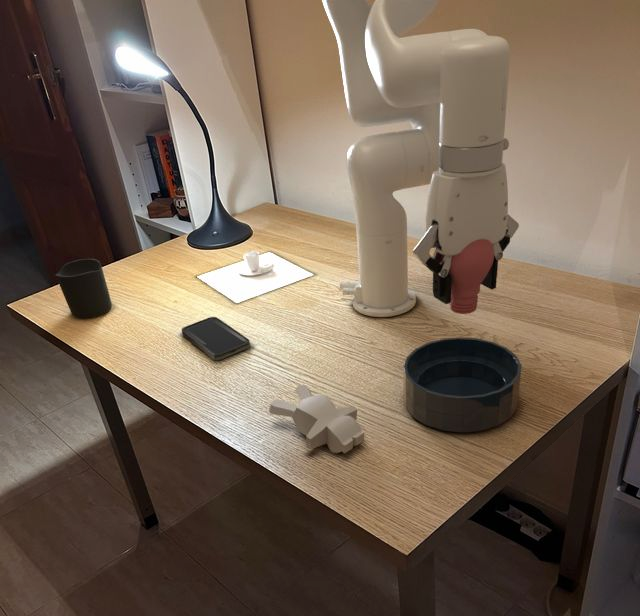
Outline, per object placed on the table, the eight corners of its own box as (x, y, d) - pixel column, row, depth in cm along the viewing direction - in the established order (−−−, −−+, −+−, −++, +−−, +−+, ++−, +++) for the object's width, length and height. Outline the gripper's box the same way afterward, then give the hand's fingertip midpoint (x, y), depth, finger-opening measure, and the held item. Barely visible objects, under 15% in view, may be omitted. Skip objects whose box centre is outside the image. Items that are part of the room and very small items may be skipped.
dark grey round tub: (394, 428, 94) (393, 392, 90) (415, 368, 106) (415, 334, 103) (513, 440, 89) (517, 403, 85) (520, 376, 102) (524, 341, 98)
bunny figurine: (330, 446, 85) (260, 396, 94) (330, 473, 89) (263, 422, 97) (378, 415, 90) (307, 370, 98) (376, 441, 93) (308, 395, 102)
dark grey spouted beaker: (122, 307, 138) (108, 264, 132) (84, 324, 133) (68, 280, 127) (100, 297, 143) (86, 255, 137) (62, 314, 138) (46, 271, 132)
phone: (214, 315, 127) (251, 341, 117) (215, 320, 128) (252, 346, 118) (178, 329, 124) (214, 356, 114) (180, 334, 125) (215, 362, 114)
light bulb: (479, 329, 85) (484, 242, 78) (429, 319, 88) (430, 235, 81) (497, 306, 89) (503, 222, 82) (449, 298, 93) (452, 217, 86)
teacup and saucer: (280, 270, 146) (277, 253, 143) (250, 281, 143) (247, 264, 140) (261, 260, 152) (258, 244, 149) (232, 270, 149) (229, 254, 146)
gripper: (508, 138, 82) (498, 268, 92) (392, 165, 76) (396, 300, 87) (548, 147, 76) (533, 285, 87) (427, 178, 71) (426, 321, 81)
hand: (464, 292), depth 87 cm, fingers closed on light bulb, 6 cm apart
